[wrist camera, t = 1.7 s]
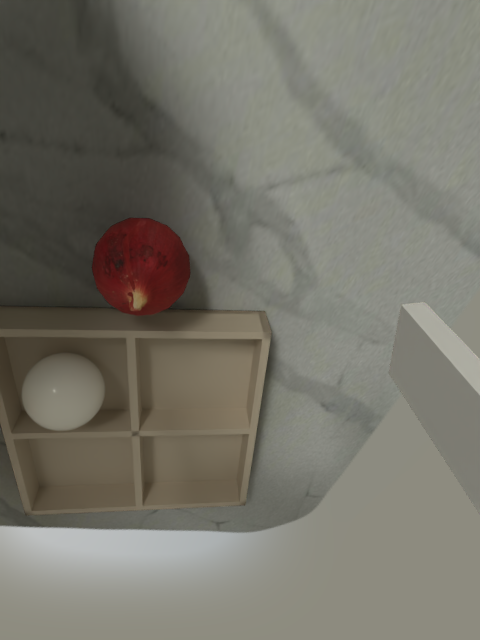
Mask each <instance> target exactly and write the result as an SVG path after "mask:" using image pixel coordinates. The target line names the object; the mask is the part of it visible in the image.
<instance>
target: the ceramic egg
mask: <svg viewBox="0 0 480 640" xmlns="http://www.w3.org/2000/svg"><path fill="white" fill-rule="evenodd" d="M21 396H22V403H23V406H24V409H25V411H26V412H27V414H28V415H29V417H30V418H31V419H32V420H33V421H34V422H35V423H37V424H38V425H40V426H42V427H44V428H46V429H50V430H54V431H67V430H72V429H75V428H78V427H80V426H82V425H84V424H86V423H87V422H89V421H90V420H91V419H92V418H93V417H94V416H95V415H96V414H97V412H98V411H99V409H100V407H101V406H102V403H103V400H104V396H105V382H104V378H103V376H102V373H101V371H100V370H99V368H98V367H97V366H96V365H95V364H94V363H93V362H92V361H91V360H90V359H88V358H86V357H84V356H82V355H79V354H76V353H70V352H63V353H56V354H52V355H50V356H47V357H45V358H43V359H41V360H40V361H39V362H37V363H36V364H35V365H34V366H33V367H32V368H31V369H30V371H29V372H28V374H27V375H26V377H25V379H24V382H23V385H22V393H21Z"/></svg>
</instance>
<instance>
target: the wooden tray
mask: <svg viewBox="0 0 480 640" xmlns="http://www.w3.org/2000/svg"><path fill="white" fill-rule="evenodd" d="M271 334H272V332H271V329H270V326H269V323H268V319H267V316H266V313H265V311H231V310H180V309H165V310H163V311H161V312H158V313H156V314H153V315H143V316H136V315H131V314H126V313H122V312H121V311H119V310H118V309H116V308H77V307H26V306H0V424H1V428H2V432H3V435H4V439H5V443H6V446H7V450H8V453H9V457H10V461H11V464H12V468H13V472H14V475H15V479H16V483H17V486H18V490H19V493H20V497H21V501H22V504H23V508H24V512H25V515H48V514H69V513H91V512H112V511H134V510H155V509H177V508H198V507H220V506H241V505H245V504H246V497H247V490H248V484H249V477H250V471H251V464H252V458H253V451H254V445H255V438H256V432H257V425H258V419H259V412H260V406H261V399H262V392H263V386H264V379H265V373H266V366H267V360H268V353H269V347H270V340H271ZM63 352H70V353H76V354H79V355H82V356H84V357H86V358H88V359H90V360H91V361H92V362H93V363H94V364H95V365H96V366H97V367H98V368H99V370H100V371H101V373H102V376H103V378H104V382H105V396H104V400H103V403H102V406H101V407H100V409H99V411H98V412H97V414H96V415H95V416H94V417H93V418H92V419H91V420H90V421H89V422H87V423H86V424H84V425H82V426H80V427H78V428H75V429H72V430H67V431H54V430H50V429H46V428H44V427H42V426H40V425H38V424H37V423H35V422H34V421H33V420H32V419H31V418H30V417H29V415H28V414H27V412H26V411H25V409H24V406H23V403H22V396H21V393H22V385H23V382H24V379H25V377H26V375H27V374H28V372H29V371H30V369H31V368H32V367H33V366H34V365H35V364H36V363H37V362H39V361H40V360H41V359H43V358H45V357H47V356H50V355H52V354H56V353H63Z"/></svg>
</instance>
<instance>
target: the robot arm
mask: <svg viewBox="0 0 480 640" xmlns="http://www.w3.org/2000/svg"><path fill="white" fill-rule="evenodd" d="M389 375H390V376H391V378H392V379H393V381H394V382H395V384H396V385H397V387H398V388H399V390H400V392H401V393H402V395H403V396H404V398H405V399H406V401H407V402H408V404H409V405H410V407H411V409H412V410H413V412H414V413H415V415H416V416H417V418H418V420H419V421H420V423H421V424H422V426H423V427H424V429H425V430H426V432H427V434H428V435H429V437H430V438H431V440H432V441H433V443H434V444H435V446H436V448H437V449H438V451H439V452H440V454H441V455H442V457H443V458H444V460H445V462H446V463H447V465H448V466H449V467H450V469H451V471H452V472H453V474H454V476H455V477H456V479H457V480H458V482H459V483H460V485H461V486H462V488H463V490H464V491H465V492H466V494H467V495H468V497H469V499H470V500H471V502H472V503H473V505H474V507H475V508H476V510H477V511H478V513H479V514H480V359H479V358H478V357H477V356H476V355H475V354H474V353H473V352H472V351H471V350H470V349H469V348H468V347H467V346H466V345H465V343H464V342H463V341H462V340H461V339H460V338H459V337H458V336H457V335H456V334H455V333H454V332H453V331H452V330H451V329H450V328H449V327H448V326H447V325H446V324H445V323H444V322H443V321H442V320H441V319H440V317H439V316H438V315H437V314H436V313H435V312H434V311H433V310H432V309H431V308H430V307H429V306H428V305H427V304H426V303H425V302H421V303H411V304H401V308H400V314H399V319H398V324H397V330H396V335H395V341H394V346H393V351H392V357H391V362H390V368H389Z"/></svg>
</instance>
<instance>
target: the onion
mask: <svg viewBox="0 0 480 640" xmlns="http://www.w3.org/2000/svg"><path fill="white" fill-rule="evenodd" d="M92 271H93V275H94V279H95V282H96V286H97V289H98V290H99V292H100V293H101V294H102V295H103V297H104V298H105V299H106V301H107V302H108V303H109V304H110V305H112V306H113V307H115V308H116V309H118V310H119V311H121V312H122V313H126V314H131V315H136V316H143V315H153V314H156V313H158V312H161V311H163V310H165V309H168V308H169V307H170V306H171V305H172V304H173V303H174V302H175V301H176V300H177V299H178V298H179V297H180V296H181V295H182V294H183V293H184V290H185V288H186V285H187V283H188V280H189V278H190V262H189V255H188V253H187V251H186V249H185V247H184V245H183V243H182V241H181V239H180V237H179V236H178V235H177V234H176V233H175V232H173V231H172V230H171V229H170V228H169V227H168V226H167V225H164V224H162V223H159V222H157V221H155V220H152V219H149V218H128V219H126V220H124V221H121V222H119V223H117V224H115V225H112V226H111V227H110V228H109V229H108V230H107V231H106V233H105V234H104V235H103V236H102V238H101V239H100V240H99V241H98V243H97V244H96V247H95V251H94V258H93V264H92Z"/></svg>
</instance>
